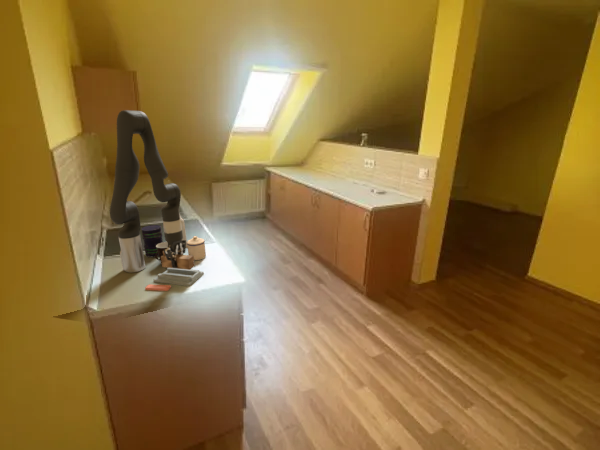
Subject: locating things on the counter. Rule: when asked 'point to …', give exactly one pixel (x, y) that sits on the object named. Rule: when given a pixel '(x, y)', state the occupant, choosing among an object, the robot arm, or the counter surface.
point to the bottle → (183, 230)
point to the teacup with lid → (196, 248)
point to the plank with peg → (179, 261)
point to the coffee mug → (161, 250)
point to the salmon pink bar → (158, 287)
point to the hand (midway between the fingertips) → (178, 265)
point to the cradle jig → (179, 276)
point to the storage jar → (151, 239)
